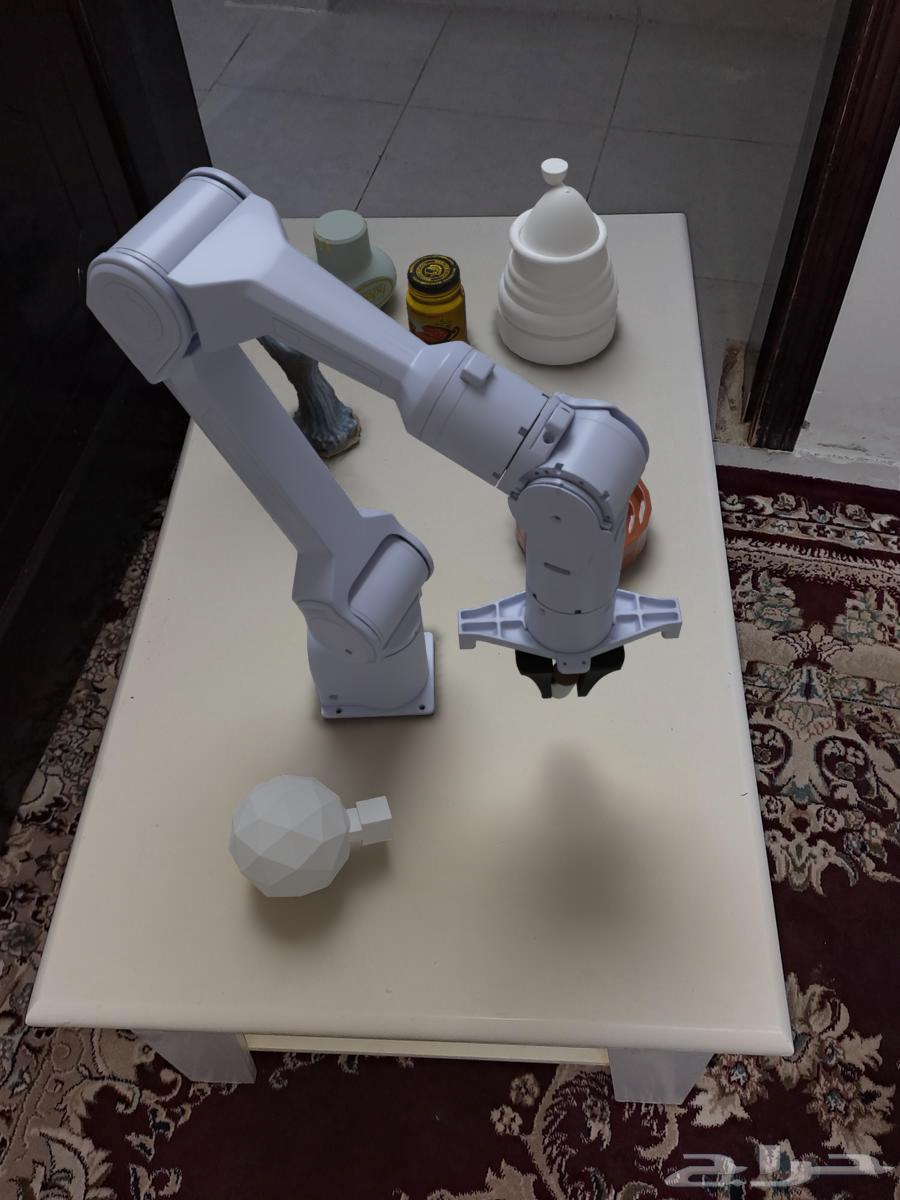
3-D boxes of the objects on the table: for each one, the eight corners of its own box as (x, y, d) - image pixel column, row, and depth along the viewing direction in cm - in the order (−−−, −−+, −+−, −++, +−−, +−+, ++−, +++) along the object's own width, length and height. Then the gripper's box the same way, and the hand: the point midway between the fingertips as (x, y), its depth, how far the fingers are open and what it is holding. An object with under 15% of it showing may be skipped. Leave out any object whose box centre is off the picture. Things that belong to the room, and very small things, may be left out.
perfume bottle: (242, 936, 72) (404, 899, 74) (224, 853, 66) (399, 816, 69) (231, 845, 78) (380, 813, 81) (214, 763, 73) (374, 732, 76)
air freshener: (330, 340, 111) (316, 264, 102) (292, 302, 115) (275, 226, 106) (411, 299, 114) (403, 222, 106) (371, 264, 118) (360, 187, 110)
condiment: (418, 390, 105) (409, 297, 95) (397, 339, 110) (386, 246, 100) (483, 373, 106) (480, 280, 96) (459, 323, 111) (455, 230, 101)
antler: (367, 411, 104) (331, 196, 83) (353, 468, 100) (312, 255, 79) (260, 405, 105) (198, 192, 85) (242, 461, 101) (172, 250, 80)
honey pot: (479, 307, 112) (475, 159, 98) (581, 275, 115) (592, 126, 100) (528, 379, 105) (531, 231, 91) (636, 343, 108) (656, 193, 93)
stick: (548, 701, 77) (555, 688, 69) (542, 676, 77) (549, 660, 69) (574, 695, 77) (583, 682, 69) (568, 670, 77) (577, 654, 69)
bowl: (519, 585, 90) (520, 559, 87) (512, 484, 97) (512, 456, 94) (654, 579, 90) (660, 553, 87) (637, 478, 97) (642, 450, 94)
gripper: (456, 637, 59) (465, 740, 70) (701, 624, 59) (671, 729, 70) (453, 543, 63) (462, 655, 74) (682, 531, 63) (656, 644, 74)
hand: (562, 685), depth 72 cm, fingers closed on stick, 2 cm apart
